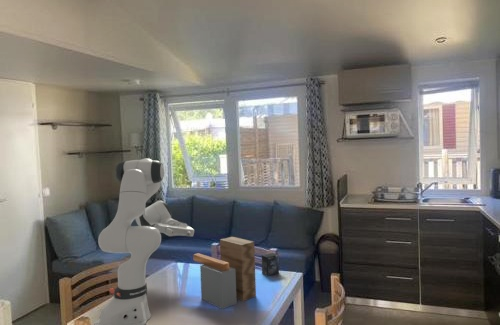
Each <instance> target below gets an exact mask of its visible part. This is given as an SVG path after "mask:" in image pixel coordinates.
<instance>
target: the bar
mask: <svg viewBox="0 0 500 325" xmlns="http://www.w3.org/2000/svg"><path fill="white" fill-rule="evenodd" d="M192 260H193V261H195V262H196V263H200V264H201V265H204V264H205V265H208V266H211V267H214V268H217V269H220V270H222V271H226V270H229V263H228V262H225V261H222V260H221V259H218V258H215V257H212V256H209V255H205V254H202V253H199V252H198V253H194V254H193V259H192Z"/></svg>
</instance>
